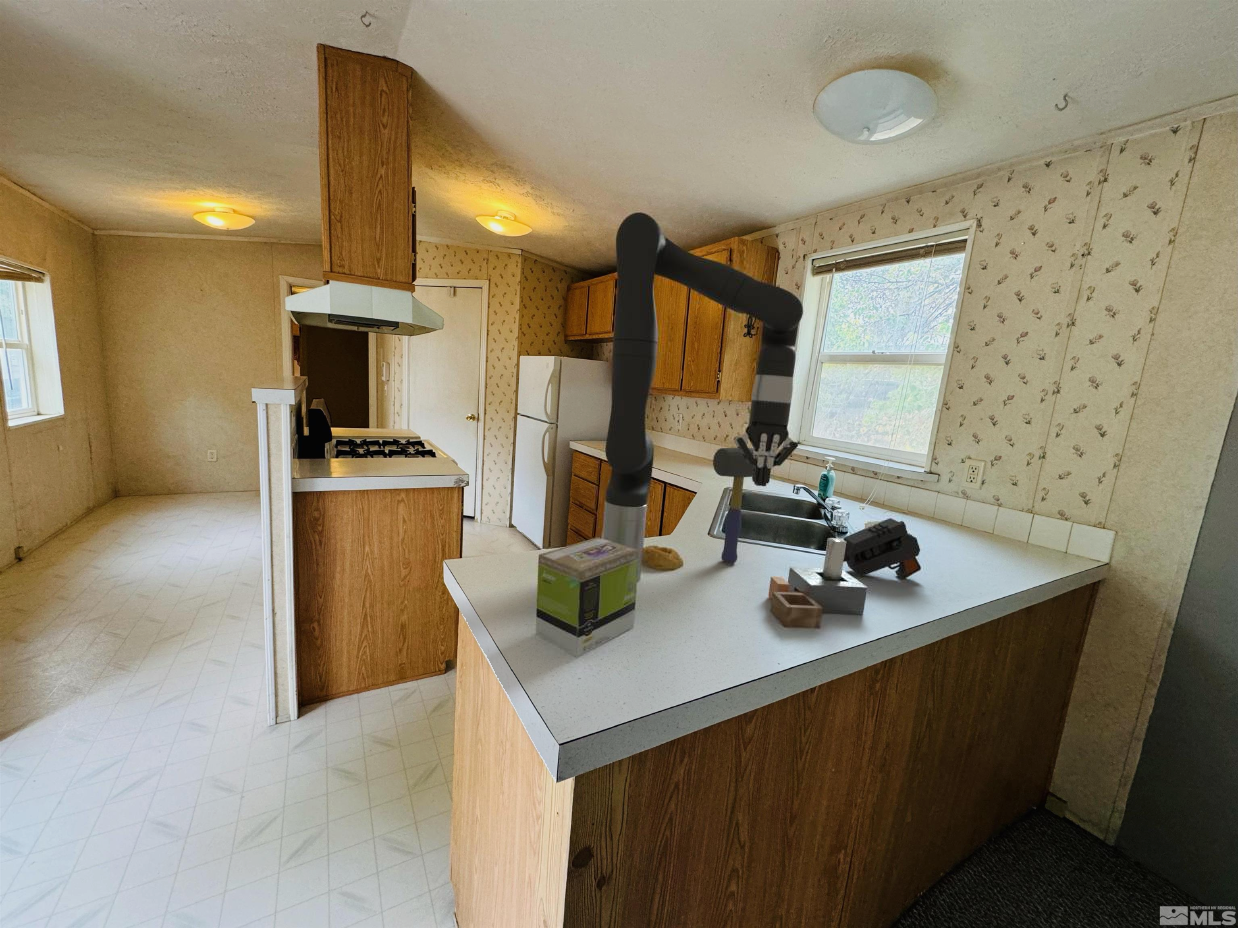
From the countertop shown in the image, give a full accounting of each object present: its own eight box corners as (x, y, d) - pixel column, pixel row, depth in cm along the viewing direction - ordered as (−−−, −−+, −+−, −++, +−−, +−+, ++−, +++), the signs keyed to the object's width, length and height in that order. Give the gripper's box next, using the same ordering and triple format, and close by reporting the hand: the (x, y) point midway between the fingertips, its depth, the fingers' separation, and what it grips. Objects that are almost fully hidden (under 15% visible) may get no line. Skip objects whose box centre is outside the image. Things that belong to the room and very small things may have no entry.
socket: (806, 612, 100) (810, 584, 99) (786, 592, 110) (789, 566, 109) (862, 614, 101) (867, 587, 100) (837, 594, 111) (841, 569, 110)
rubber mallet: (716, 570, 120) (730, 448, 115) (699, 560, 127) (712, 444, 122) (757, 567, 125) (772, 450, 120) (739, 557, 132) (752, 445, 127)
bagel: (686, 574, 117) (688, 555, 116) (640, 571, 116) (641, 552, 115) (679, 559, 126) (681, 542, 126) (636, 557, 126) (638, 539, 125)
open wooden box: (784, 626, 93) (787, 606, 92) (770, 610, 100) (772, 591, 99) (819, 628, 93) (822, 608, 93) (803, 611, 100) (805, 593, 100)
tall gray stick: (823, 606, 103) (833, 542, 101) (815, 599, 107) (824, 537, 105) (839, 607, 104) (849, 543, 102) (831, 600, 107) (840, 538, 105)
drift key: (775, 603, 102) (778, 583, 102) (768, 595, 106) (770, 576, 106) (818, 605, 103) (821, 585, 102) (810, 597, 107) (812, 578, 106)
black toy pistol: (930, 573, 122) (910, 518, 120) (856, 601, 123) (835, 548, 121) (916, 564, 128) (897, 512, 126) (845, 591, 129) (826, 541, 127)
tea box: (593, 609, 94) (598, 535, 92) (635, 628, 88) (642, 549, 85) (532, 636, 82) (537, 551, 80) (575, 660, 76) (582, 569, 74)
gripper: (744, 397, 93) (733, 487, 96) (812, 403, 94) (799, 491, 97) (732, 396, 101) (722, 479, 103) (795, 401, 102) (784, 483, 104)
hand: (760, 485), depth 100 cm, fingers closed
